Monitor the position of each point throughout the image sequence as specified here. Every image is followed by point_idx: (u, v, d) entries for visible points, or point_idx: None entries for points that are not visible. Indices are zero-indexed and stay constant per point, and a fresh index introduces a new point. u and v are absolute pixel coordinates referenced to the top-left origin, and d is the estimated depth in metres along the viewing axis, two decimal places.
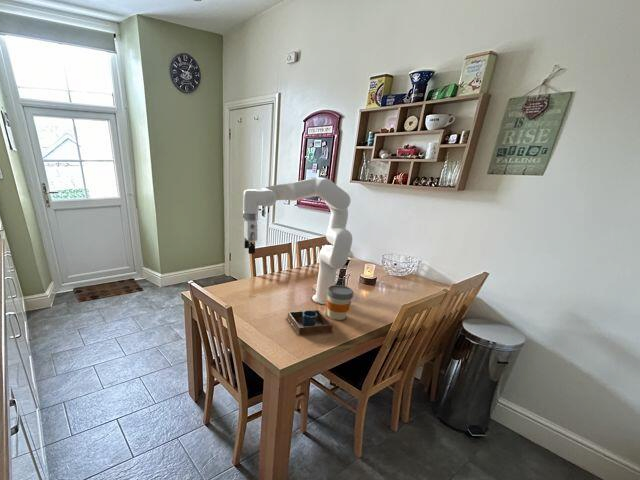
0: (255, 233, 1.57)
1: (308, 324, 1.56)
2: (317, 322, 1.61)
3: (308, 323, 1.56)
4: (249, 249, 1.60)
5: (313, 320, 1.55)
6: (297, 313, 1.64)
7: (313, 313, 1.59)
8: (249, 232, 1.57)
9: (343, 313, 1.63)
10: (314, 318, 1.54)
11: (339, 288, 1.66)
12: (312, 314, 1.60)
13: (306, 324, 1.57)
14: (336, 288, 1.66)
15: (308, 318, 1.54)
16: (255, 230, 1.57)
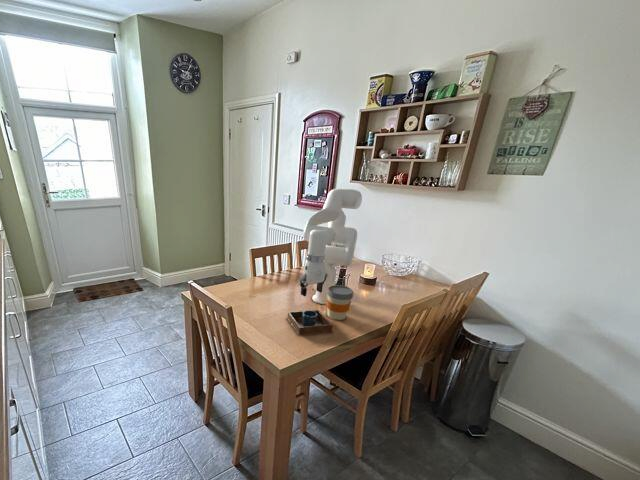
0: (307, 276, 1.45)
1: (308, 324, 1.56)
2: (317, 322, 1.61)
3: (308, 323, 1.56)
4: None
5: (313, 320, 1.55)
6: (297, 313, 1.64)
7: (313, 313, 1.59)
8: (303, 272, 1.47)
9: (343, 313, 1.63)
10: (314, 318, 1.54)
11: (339, 288, 1.66)
12: (312, 314, 1.60)
13: (306, 324, 1.57)
14: (336, 288, 1.66)
15: (308, 318, 1.54)
16: (308, 272, 1.44)
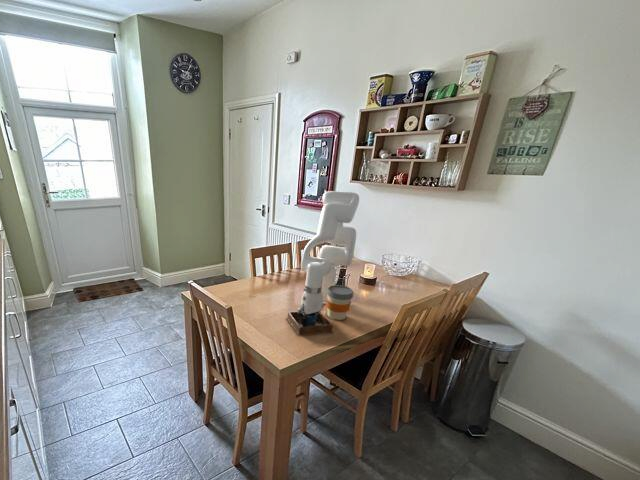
0: (305, 306, 1.51)
1: (308, 324, 1.56)
2: (317, 322, 1.61)
3: (308, 323, 1.56)
4: (300, 319, 1.57)
5: (313, 320, 1.55)
6: (297, 313, 1.64)
7: (313, 313, 1.59)
8: (301, 302, 1.53)
9: (343, 313, 1.63)
10: (314, 318, 1.54)
11: (339, 288, 1.66)
12: (312, 314, 1.60)
13: (306, 324, 1.57)
14: (336, 288, 1.66)
15: (308, 318, 1.54)
16: (305, 303, 1.50)
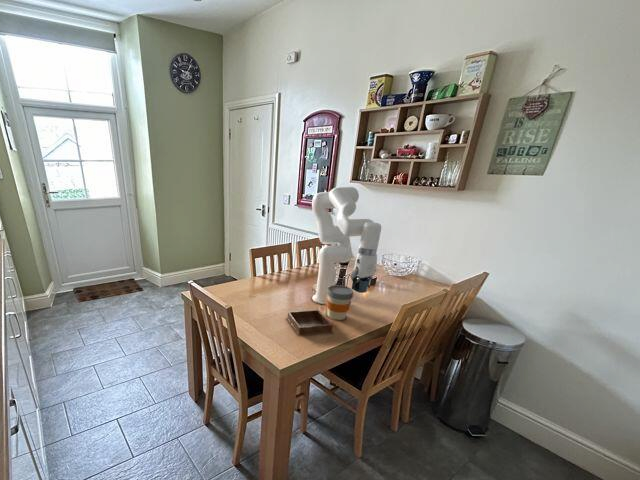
0: (359, 269, 1.44)
1: (361, 289, 1.49)
2: (317, 322, 1.61)
3: (361, 288, 1.48)
4: (352, 284, 1.50)
5: (366, 285, 1.47)
6: (297, 313, 1.64)
7: (365, 279, 1.52)
8: (355, 266, 1.46)
9: (343, 313, 1.63)
10: (368, 283, 1.47)
11: (339, 288, 1.66)
12: (364, 280, 1.52)
13: (358, 289, 1.49)
14: (336, 288, 1.66)
15: (361, 283, 1.47)
16: (360, 266, 1.43)
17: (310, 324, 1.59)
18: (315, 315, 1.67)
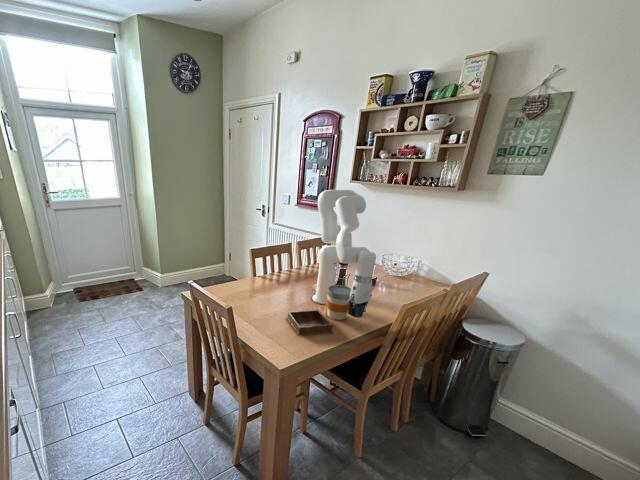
0: (355, 296, 1.49)
1: (357, 314, 1.54)
2: (317, 322, 1.61)
3: (357, 313, 1.54)
4: (349, 309, 1.55)
5: (362, 310, 1.53)
6: (297, 313, 1.64)
7: (361, 303, 1.57)
8: (351, 292, 1.51)
9: (343, 313, 1.63)
10: (363, 308, 1.52)
11: (339, 288, 1.66)
12: (360, 305, 1.58)
13: (355, 314, 1.55)
14: (336, 288, 1.66)
15: (357, 308, 1.52)
16: (356, 293, 1.48)
17: (310, 324, 1.59)
18: (315, 315, 1.67)
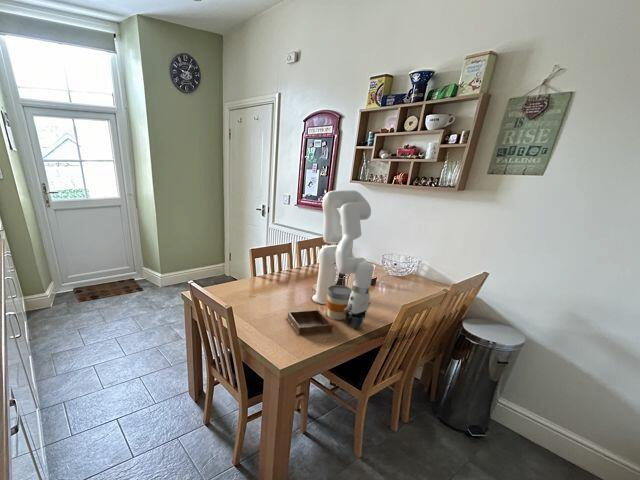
0: (353, 306, 1.51)
1: (355, 326, 1.57)
2: (317, 322, 1.61)
3: (355, 324, 1.56)
4: (345, 318, 1.57)
5: (360, 322, 1.55)
6: (297, 313, 1.64)
7: (359, 315, 1.60)
8: (348, 302, 1.54)
9: (343, 313, 1.63)
10: (361, 320, 1.55)
11: (339, 288, 1.66)
12: (358, 316, 1.60)
13: (353, 326, 1.57)
14: (336, 288, 1.66)
15: (355, 320, 1.55)
16: (353, 303, 1.51)
17: (310, 324, 1.59)
18: (315, 315, 1.67)
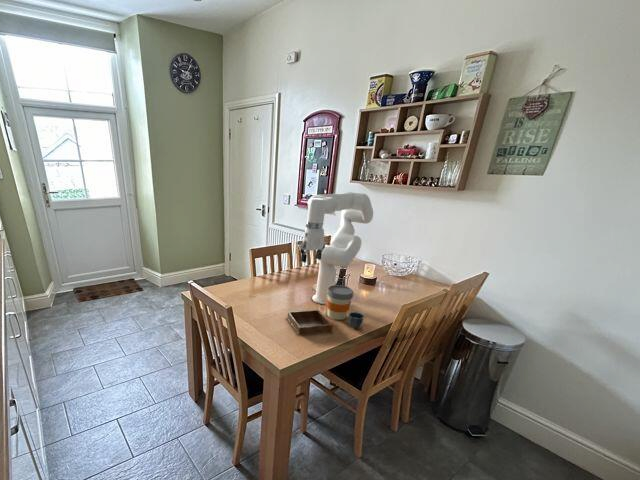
0: (307, 242, 1.54)
1: (355, 326, 1.57)
2: (317, 322, 1.61)
3: (355, 324, 1.56)
4: None
5: (360, 322, 1.55)
6: (297, 313, 1.64)
7: (359, 315, 1.60)
8: (303, 240, 1.56)
9: (343, 313, 1.63)
10: (361, 320, 1.55)
11: (339, 288, 1.66)
12: (358, 316, 1.60)
13: (353, 326, 1.57)
14: (336, 288, 1.66)
15: (355, 320, 1.55)
16: (307, 239, 1.54)
17: (310, 324, 1.59)
18: (315, 315, 1.67)
